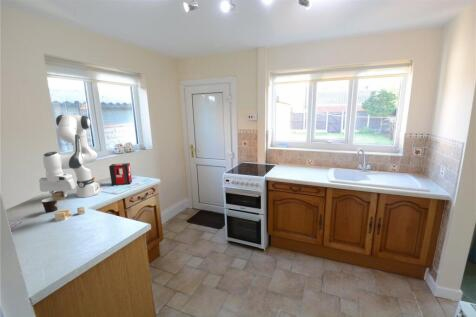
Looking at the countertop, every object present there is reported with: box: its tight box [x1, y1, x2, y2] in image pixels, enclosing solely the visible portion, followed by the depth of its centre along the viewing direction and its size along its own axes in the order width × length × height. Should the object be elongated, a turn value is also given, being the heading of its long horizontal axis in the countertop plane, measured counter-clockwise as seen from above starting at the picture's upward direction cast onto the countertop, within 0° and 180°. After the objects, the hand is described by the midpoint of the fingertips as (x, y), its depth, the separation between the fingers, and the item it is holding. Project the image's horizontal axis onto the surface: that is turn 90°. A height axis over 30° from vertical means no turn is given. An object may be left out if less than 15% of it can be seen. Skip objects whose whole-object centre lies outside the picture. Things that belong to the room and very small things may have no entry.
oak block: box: [53, 208, 72, 221], centre depth 149 cm, size 6×6×5 cm
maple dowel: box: [76, 206, 86, 216], centre depth 156 cm, size 4×4×4 cm
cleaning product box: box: [108, 162, 133, 187], centre depth 223 cm, size 16×9×20 cm, turn 102°
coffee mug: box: [41, 197, 58, 214], centre depth 163 cm, size 12×9×10 cm
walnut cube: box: [51, 191, 68, 202], centre depth 146 cm, size 5×5×5 cm
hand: (59, 196), depth 147 cm, fingers closed on walnut cube, 5 cm apart
